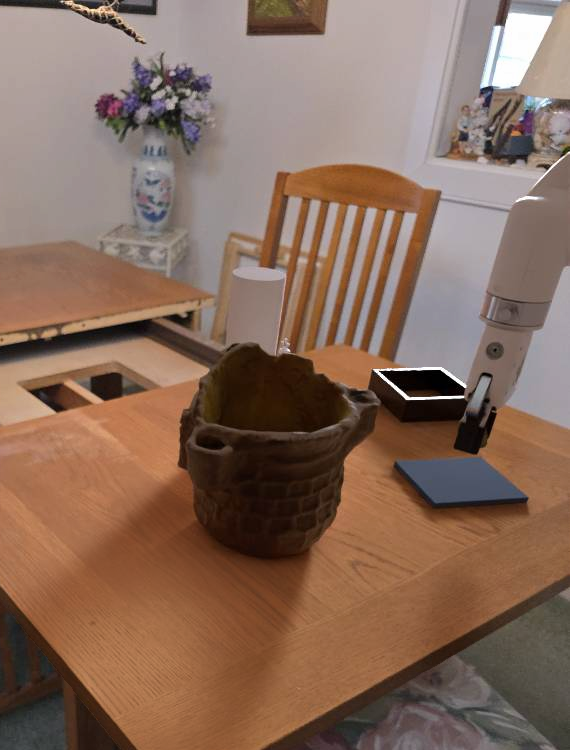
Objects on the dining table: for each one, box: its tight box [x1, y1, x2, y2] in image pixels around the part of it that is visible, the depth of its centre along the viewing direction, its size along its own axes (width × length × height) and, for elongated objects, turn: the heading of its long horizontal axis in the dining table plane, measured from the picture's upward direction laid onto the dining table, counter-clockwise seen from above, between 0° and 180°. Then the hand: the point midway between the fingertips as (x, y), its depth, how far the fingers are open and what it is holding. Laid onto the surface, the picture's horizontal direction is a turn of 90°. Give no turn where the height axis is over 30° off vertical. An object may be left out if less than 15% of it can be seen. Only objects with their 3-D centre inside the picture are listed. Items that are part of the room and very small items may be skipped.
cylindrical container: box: [224, 266, 287, 356], centre depth 100 cm, size 7×7×25 cm
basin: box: [367, 367, 469, 423], centre depth 122 cm, size 14×14×4 cm
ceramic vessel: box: [177, 342, 381, 559], centre depth 81 cm, size 23×24×25 cm
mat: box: [393, 456, 530, 509], centre depth 100 cm, size 14×12×1 cm
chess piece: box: [277, 338, 291, 356], centre depth 121 cm, size 5×5×10 cm
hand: (471, 442), depth 96 cm, fingers closed on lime, 4 cm apart
